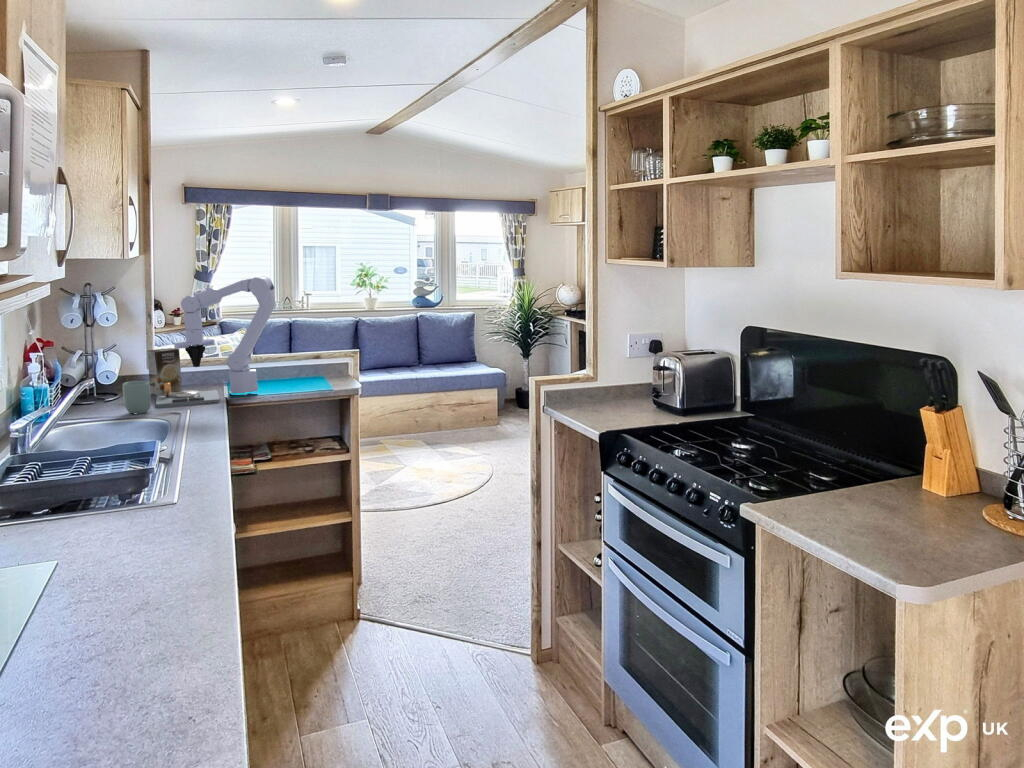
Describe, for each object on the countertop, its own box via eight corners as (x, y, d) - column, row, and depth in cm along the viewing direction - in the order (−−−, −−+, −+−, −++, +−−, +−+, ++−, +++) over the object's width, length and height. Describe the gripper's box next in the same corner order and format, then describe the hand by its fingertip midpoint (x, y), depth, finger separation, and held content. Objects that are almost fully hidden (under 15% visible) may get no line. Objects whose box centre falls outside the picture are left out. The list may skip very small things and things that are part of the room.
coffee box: (159, 395, 267) (155, 351, 264) (150, 393, 271) (145, 350, 268) (183, 391, 274) (179, 348, 271) (173, 389, 278) (170, 347, 275)
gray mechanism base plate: (217, 393, 271) (216, 385, 271) (220, 402, 255) (219, 394, 255) (157, 397, 263) (156, 389, 263) (156, 407, 247) (155, 399, 247)
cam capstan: (204, 393, 263) (203, 381, 262) (193, 398, 255) (192, 385, 254) (171, 393, 263) (170, 381, 262) (159, 398, 255) (158, 385, 254)
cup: (144, 415, 236) (141, 385, 234) (120, 415, 236) (117, 385, 234) (156, 410, 243) (153, 380, 242) (133, 410, 244) (130, 380, 242)
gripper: (205, 326, 272) (208, 363, 275) (168, 330, 261) (171, 368, 263) (216, 328, 268) (219, 364, 271) (179, 331, 257) (182, 370, 259)
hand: (196, 366), depth 267 cm, fingers closed
